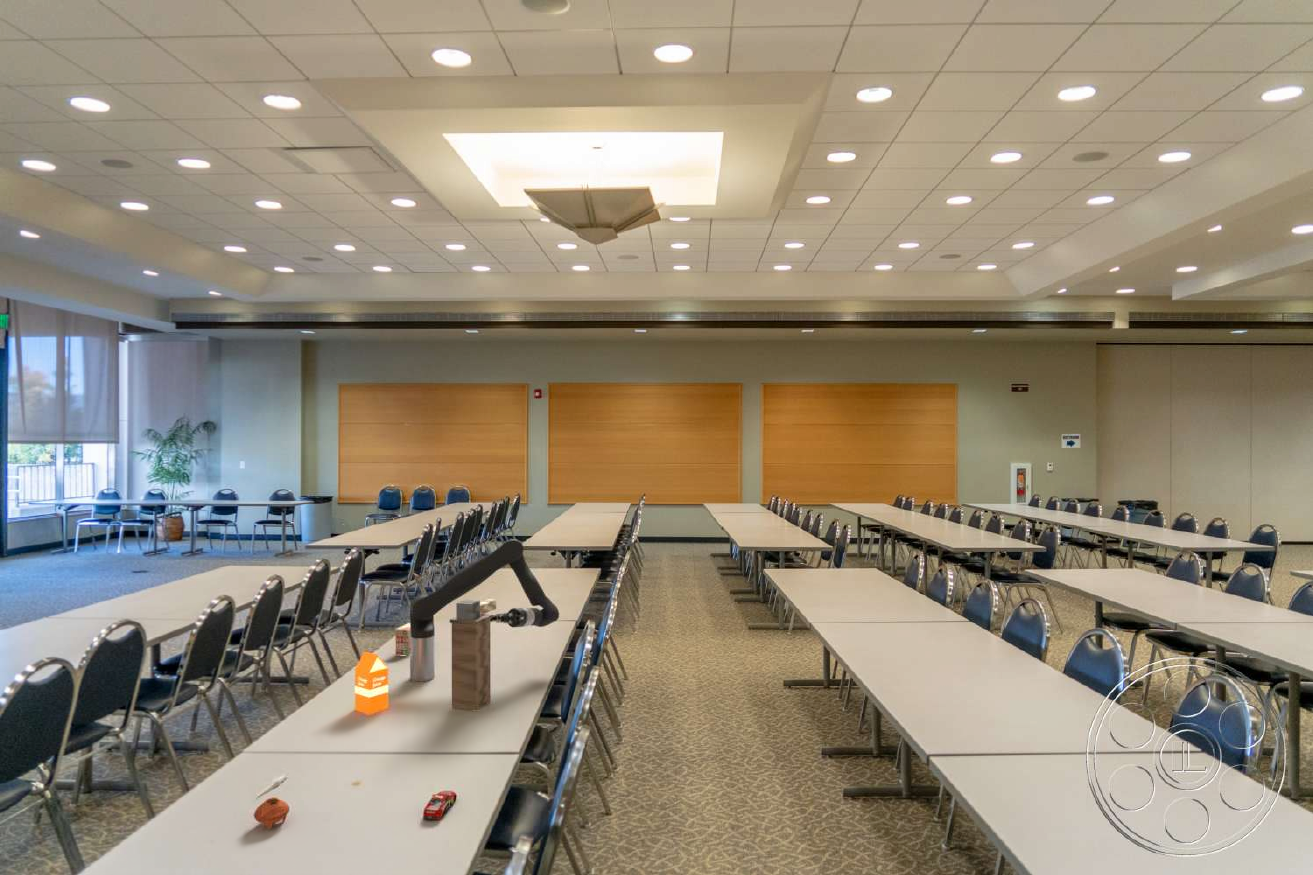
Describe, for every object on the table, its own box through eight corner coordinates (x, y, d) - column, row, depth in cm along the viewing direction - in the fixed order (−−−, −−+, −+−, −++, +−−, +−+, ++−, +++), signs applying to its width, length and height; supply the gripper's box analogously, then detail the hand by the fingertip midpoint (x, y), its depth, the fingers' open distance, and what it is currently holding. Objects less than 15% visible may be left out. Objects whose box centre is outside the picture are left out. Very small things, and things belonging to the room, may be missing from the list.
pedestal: (466, 698, 284) (466, 612, 284) (492, 701, 281) (492, 614, 281) (449, 708, 273) (449, 619, 274) (476, 711, 270) (476, 621, 270)
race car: (440, 797, 206) (440, 782, 206) (459, 798, 205) (459, 783, 205) (419, 821, 192) (419, 805, 192) (439, 823, 192) (439, 807, 192)
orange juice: (373, 703, 279) (373, 648, 279) (388, 708, 274) (388, 652, 274) (354, 709, 273) (354, 653, 273) (369, 714, 268) (369, 657, 268)
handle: (485, 608, 292) (485, 592, 292) (499, 609, 291) (499, 593, 291) (456, 619, 273) (456, 602, 273) (471, 620, 272) (471, 603, 272)
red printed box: (418, 643, 362) (418, 617, 362) (430, 644, 361) (430, 618, 361) (395, 656, 341) (395, 628, 341) (408, 656, 340) (408, 629, 340)
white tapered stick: (283, 776, 219) (283, 769, 218) (291, 776, 218) (291, 770, 218) (248, 803, 204) (248, 796, 204) (257, 804, 203) (257, 797, 203)
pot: (281, 811, 197) (284, 787, 196) (291, 829, 191) (294, 805, 190) (248, 821, 191) (251, 796, 190) (257, 840, 186) (260, 815, 185)
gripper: (507, 607, 312) (479, 608, 299) (534, 607, 305) (506, 608, 291) (507, 626, 311) (479, 628, 297) (534, 627, 304) (506, 629, 290)
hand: (492, 618), depth 294 cm, fingers open, 8 cm apart
